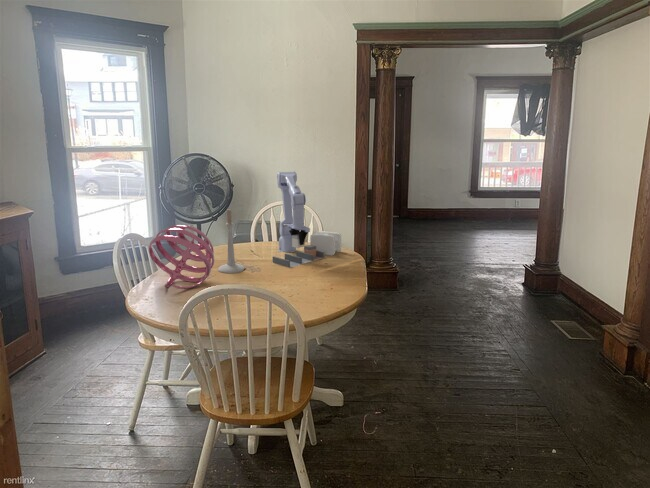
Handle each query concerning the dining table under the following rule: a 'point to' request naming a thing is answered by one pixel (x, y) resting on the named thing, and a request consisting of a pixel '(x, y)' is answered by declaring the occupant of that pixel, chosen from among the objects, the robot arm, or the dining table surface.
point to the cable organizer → (326, 242)
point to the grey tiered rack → (298, 258)
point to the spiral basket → (184, 254)
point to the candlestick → (230, 251)
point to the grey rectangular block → (296, 241)
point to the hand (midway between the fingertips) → (298, 244)
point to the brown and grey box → (310, 250)
